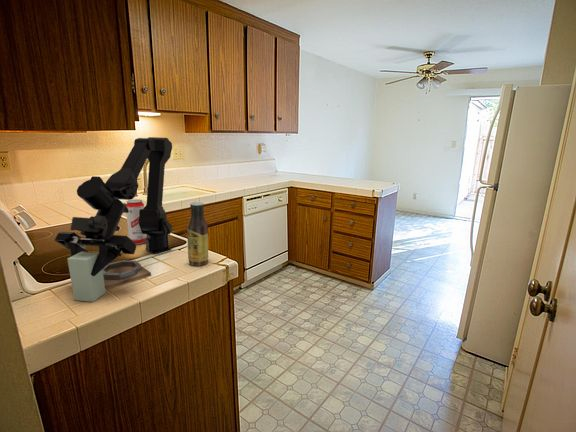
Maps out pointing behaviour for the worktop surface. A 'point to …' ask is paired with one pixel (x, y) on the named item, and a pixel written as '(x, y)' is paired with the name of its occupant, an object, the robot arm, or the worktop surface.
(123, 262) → the seat ring
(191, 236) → the sauce bottle
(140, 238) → the beer can
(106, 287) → the seat board
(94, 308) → the worktop surface
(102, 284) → the sage block
